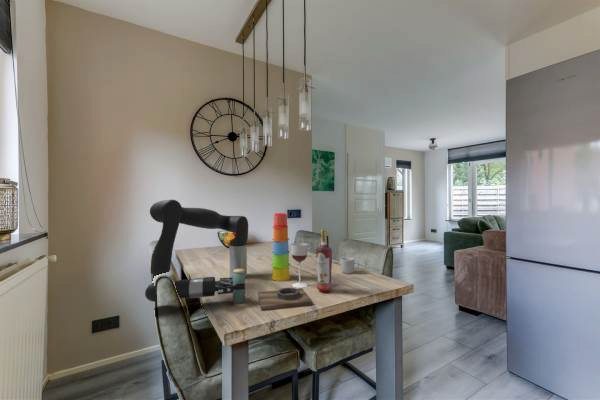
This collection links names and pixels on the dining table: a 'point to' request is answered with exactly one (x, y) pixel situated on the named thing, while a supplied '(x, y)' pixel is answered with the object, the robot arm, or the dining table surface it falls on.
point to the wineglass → (299, 258)
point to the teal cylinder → (239, 279)
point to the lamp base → (278, 303)
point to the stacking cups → (280, 248)
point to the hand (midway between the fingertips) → (244, 283)
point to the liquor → (324, 264)
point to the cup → (348, 265)
